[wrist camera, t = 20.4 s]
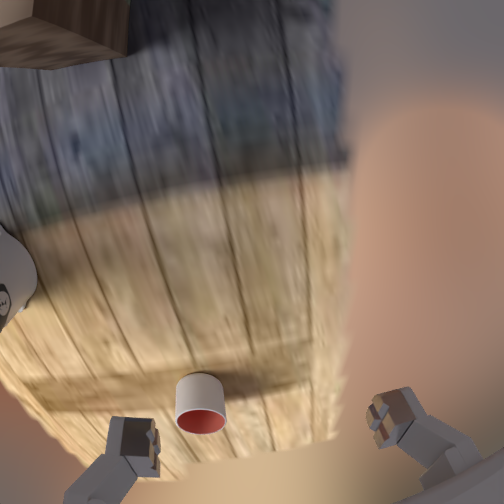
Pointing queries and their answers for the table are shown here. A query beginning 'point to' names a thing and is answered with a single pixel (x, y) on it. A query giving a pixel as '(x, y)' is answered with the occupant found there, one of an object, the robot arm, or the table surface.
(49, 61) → the two-tone block tower
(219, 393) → the cup
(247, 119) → the table surface
